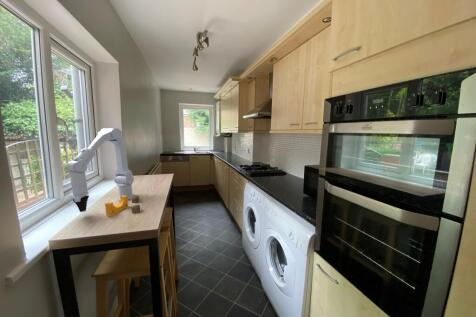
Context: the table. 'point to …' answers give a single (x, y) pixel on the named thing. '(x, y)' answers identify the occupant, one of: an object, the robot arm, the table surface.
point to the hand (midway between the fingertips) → (83, 211)
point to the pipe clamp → (116, 206)
